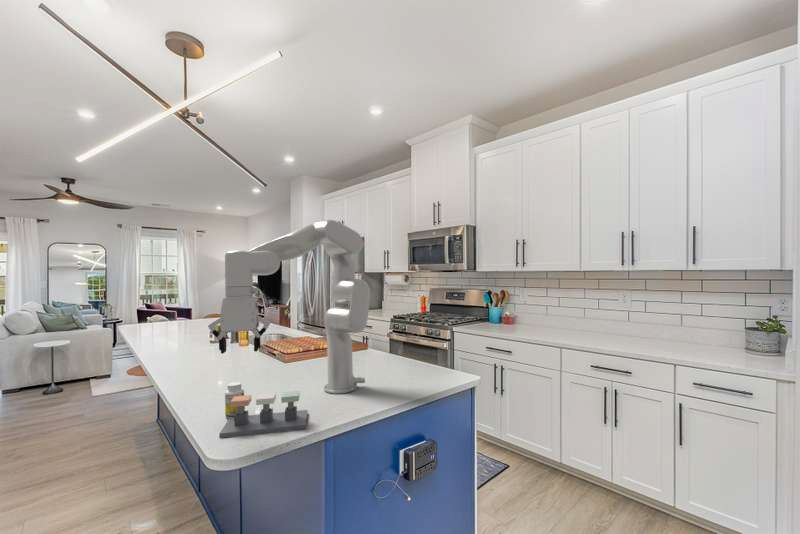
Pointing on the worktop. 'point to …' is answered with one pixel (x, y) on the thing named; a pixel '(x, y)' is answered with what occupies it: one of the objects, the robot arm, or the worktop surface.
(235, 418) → the keypad board
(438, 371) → the worktop surface
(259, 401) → the key mid
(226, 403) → the supplement bottle
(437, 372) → the worktop surface
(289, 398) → the green key
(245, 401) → the key
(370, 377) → the worktop surface
